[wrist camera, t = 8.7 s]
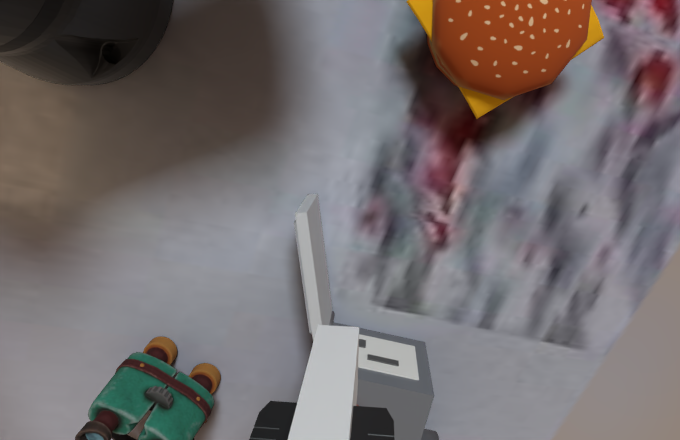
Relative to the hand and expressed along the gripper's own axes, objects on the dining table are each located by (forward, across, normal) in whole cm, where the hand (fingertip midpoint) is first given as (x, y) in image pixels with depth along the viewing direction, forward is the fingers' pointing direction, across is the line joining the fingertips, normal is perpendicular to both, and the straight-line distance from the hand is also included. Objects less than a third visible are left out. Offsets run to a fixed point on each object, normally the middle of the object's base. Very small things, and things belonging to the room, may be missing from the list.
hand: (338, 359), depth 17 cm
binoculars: (+21, -17, -17) cm, 32 cm away
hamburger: (+21, +9, +14) cm, 26 cm away
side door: (+20, -3, -4) cm, 21 cm away
